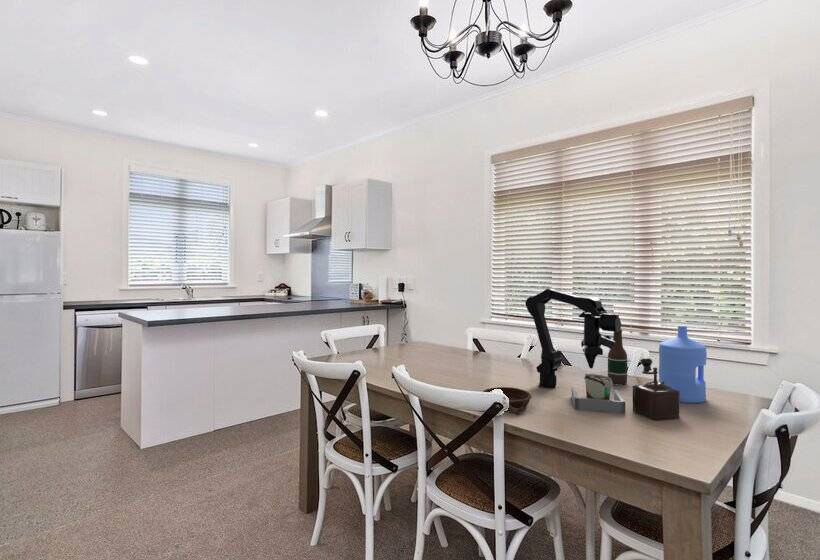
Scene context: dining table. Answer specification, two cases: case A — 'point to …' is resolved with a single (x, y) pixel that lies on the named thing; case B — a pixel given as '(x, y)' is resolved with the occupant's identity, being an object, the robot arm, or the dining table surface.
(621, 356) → the beer bottle
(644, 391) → the manual coffee grinder
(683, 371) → the water jug
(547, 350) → the robot arm
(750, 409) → the dining table surface
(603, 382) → the food container
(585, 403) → the box
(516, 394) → the dish
